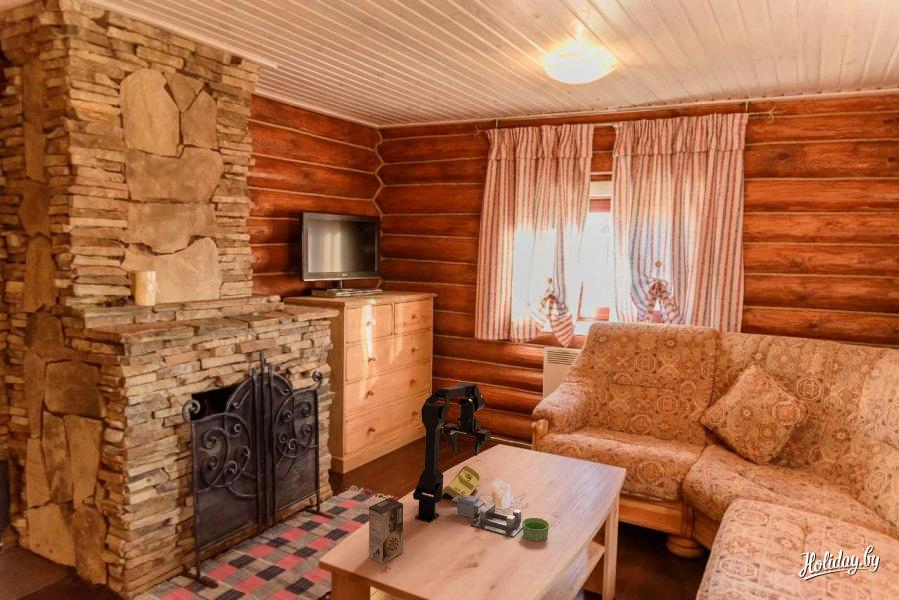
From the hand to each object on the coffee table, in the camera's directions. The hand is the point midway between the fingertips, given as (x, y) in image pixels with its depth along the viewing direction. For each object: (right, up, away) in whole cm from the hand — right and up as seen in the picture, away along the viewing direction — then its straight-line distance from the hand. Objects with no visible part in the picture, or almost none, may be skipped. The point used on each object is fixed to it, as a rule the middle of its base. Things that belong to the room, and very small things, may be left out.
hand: (465, 453), depth 239 cm
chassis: (+11, -18, -26) cm, 34 cm away
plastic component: (-2, -15, -1) cm, 15 cm away
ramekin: (+22, -19, -35) cm, 45 cm away
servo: (0, -17, -20) cm, 26 cm away
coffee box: (-26, -19, -50) cm, 59 cm away
